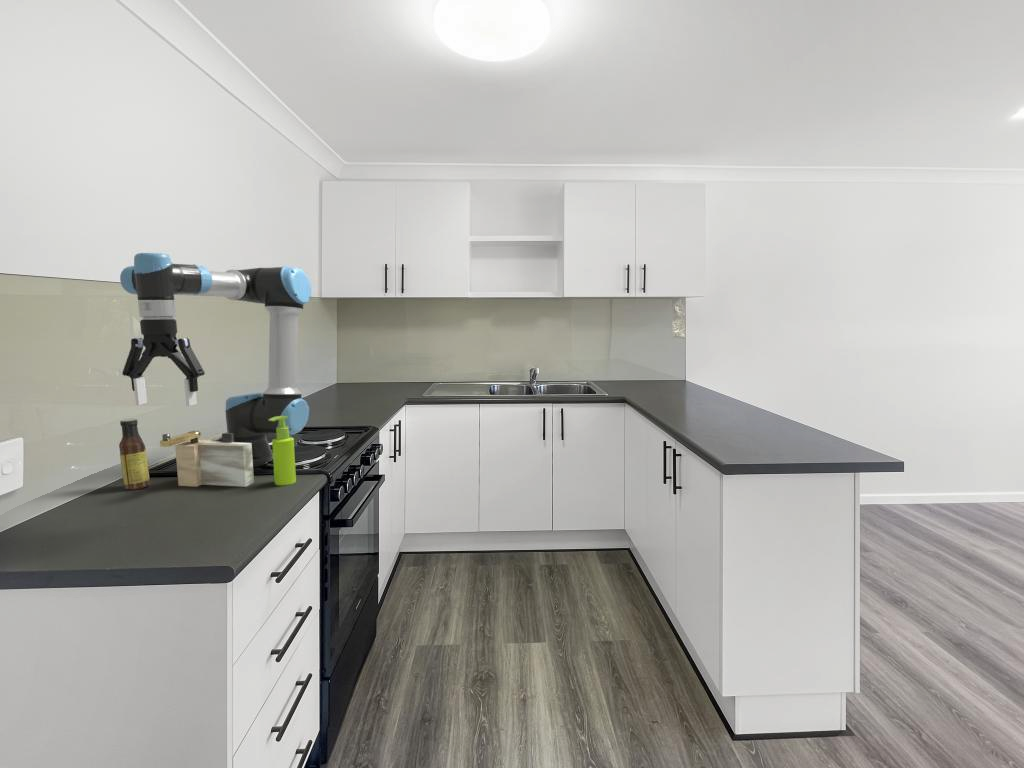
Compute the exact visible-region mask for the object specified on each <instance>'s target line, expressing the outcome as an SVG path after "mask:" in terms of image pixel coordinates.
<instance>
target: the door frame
mask: <svg viewBox="0 0 1024 768" xmlns="http://www.w3.org/2000/svg"><path fill="white" fill-rule="evenodd" d="M221 439H222V441H214V440H213V439H199V438H194V439H191V440H188V441H185V442H182V443H178V444H175V446H174V448H175V458H176V470H177V471H176V472H177V482H178V486H179V487H194V488H195V487H199V486H202V485H203V486H223V487H248V486H250V485H252V484H254V483H255V479H254V478H255V477H254V476H255V475H254V467H253V459H252V443H238V442H234V436H233V433H227V432H223V433H221Z"/></svg>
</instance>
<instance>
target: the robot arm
mask: <svg viewBox="0 0 1024 768" xmlns="http://www.w3.org/2000/svg"><path fill="white" fill-rule="evenodd" d="M119 276H120V277H119V281H120V284H121V286H122V288H123V290H125V291H126V292H127V293H129V294H131V295H137V296H136V297H137V303H138V314H139V315H138V316H139V317H140V318H142V319H140V321H139V325H140V333H141V335H142V336H143V338H142V337H134V338H131V340H130V350H129V352H128V355H127V358H126V361H125V364H124V366H123V371H122V375H123V377H129V378H130V380H131V389H132V391H133V392H134V396H135V398H134V399H135V405H136V406H140V405H144V404H148V397H147V389H146V388H147V387H146V379H145V377H144V375H143V374H144V372H145V371H146V369H147V368H148V367H149V365H150V364H151V362H152V361H153V360H154V358H157V357H160V358H166V357H167V359H170V360H171V361H172V362H173V363H174V365H176V367H177V368H178V369H179V371H181V373H182V374H183V375H184V376H185V377H186V378H185V379H184V381H183V383H184V393H185V403H186V406H187V407H190V406H194V405H198V402H197V392H198V390H199V384H198V379H199V378H200V377H202V376H204V375H205V374H206V373H205V370H204V368H203V366H202V365H201V363H200V361H199V359H198V357H197V356H196V354H195V352H194V350H193V349H192V347H191V342H190V339H189V338H188V337H183V338H177V334H178V326H177V325H178V324H177V320H176V319H175V318H174V317H176V316H177V313H176V302H175V296H186V297H187V296H192V297H219V298H220V297H222V298H226V299H227V300H230V301H240V302H241V301H242V302H248V303H255V304H261V305H262V304H263V305H264V309H265V310H266V311H267V312H268V313H269V335H268V336H269V337H268V338H269V340H268V383H267V385H268V387H267V388H266V390H265V391H263V392H254V393H245V394H238V395H234V396H230V397H228V398H227V399H226V400H225V410H224V411H225V422H226V433H233V436H234V442H238V443H252V459H253V468H257V467H261V466H262V467H263V466H265V465H266V464H265V463H266V462H269V461H271V460H272V459H273V450H272V449H271V448H272V447H271V446H270V444H269V441H268V439H267V434H273V435H276V428H277V427H278V426H279V420H276V421H269V419H271V418H273V417H276V416H288V418H286V419H285V426H287V427H289V435H296V434H298V433H300V432H301V431H302V430H303V429H304V427H305V426H306V425H307V423H308V419H309V415H310V407H309V404H308V402H307V401H306V400H305V399H303V398H302V392H301V390H299V389H298V387H297V386H298V347H299V345H298V341H299V340H298V338H299V336H298V335H299V315H300V314H301V313H302V312H304V305H306V304H307V303H309V301H310V299H311V298H312V285H311V281H310V279H309V277H308V276H307V274H306V273H305V271H303V270H302V269H300V268H299V267H293V266H292V267H290V266H279V267H274V266H273V267H253V268H245V269H227V270H226V271H214V270H209V269H208V268H207V267H205V266H202V265H197V264H188V263H187V264H186V263H185V264H183V263H182V264H181V263H172V260H171V257H170V255H169V254H167V253H158V252H138V253H136V254H135V255H134V257H133V265H130V266H126V267H125V268H124V269H122V271H121V273H120V275H119ZM144 347H145V349H144ZM177 347H178V348H179V349H178V348H177ZM143 349H144V351H143ZM264 464H265V465H264Z"/></svg>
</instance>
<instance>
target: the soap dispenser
mask: <svg viewBox="0 0 1024 768" xmlns="http://www.w3.org/2000/svg"><path fill="white" fill-rule="evenodd" d="M286 418H288V416H276V417H273V418H271V419H269V421H276V420H279V426H278V427H277V428H276V434H275V435H276V438H272V440H271V441H272V442H271V443H272V453H273V461H272V462H273V476H274V477H273V478H274V485H276V486H290V485H292V484H295V483H296V482H297V477H296V476H297V473H296V471H297V470H296V459H295V457H296V456H295V439H294V437H290V434H289V427H287V426H285V419H286Z"/></svg>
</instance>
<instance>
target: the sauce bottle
mask: <svg viewBox="0 0 1024 768" xmlns="http://www.w3.org/2000/svg"><path fill="white" fill-rule="evenodd" d="M119 424H120V426H121V431H122V433H121V435H122V437H121V440H120V441H119V444H118V446H119V447H118V448H119V459H120V465H121V472H122V479H123V485H124V488H125V489H126V490H130V491H133V490H139V489H140V490H141V489H144V488H146V487H149V486H150V473H149V471H150V470H149V465H148V464H149V463H148V456H147V448H146V444H145V443H144V441H143V439H142V437H141V436H140V433H139V428H138V424H139V421H138V419H137V418H125V419H122V420H120V421H119Z"/></svg>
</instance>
